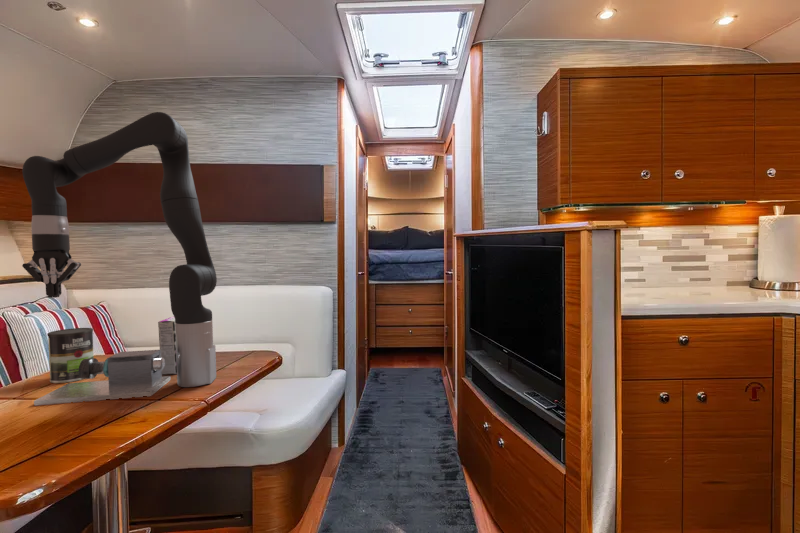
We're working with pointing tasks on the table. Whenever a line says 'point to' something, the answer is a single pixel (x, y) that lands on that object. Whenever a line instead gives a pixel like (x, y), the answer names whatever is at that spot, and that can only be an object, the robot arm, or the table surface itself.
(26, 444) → the table surface
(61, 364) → the coffee can
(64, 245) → the robot arm
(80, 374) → the shaft
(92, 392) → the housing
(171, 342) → the candy bar box
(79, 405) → the table surface
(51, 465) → the table surface
